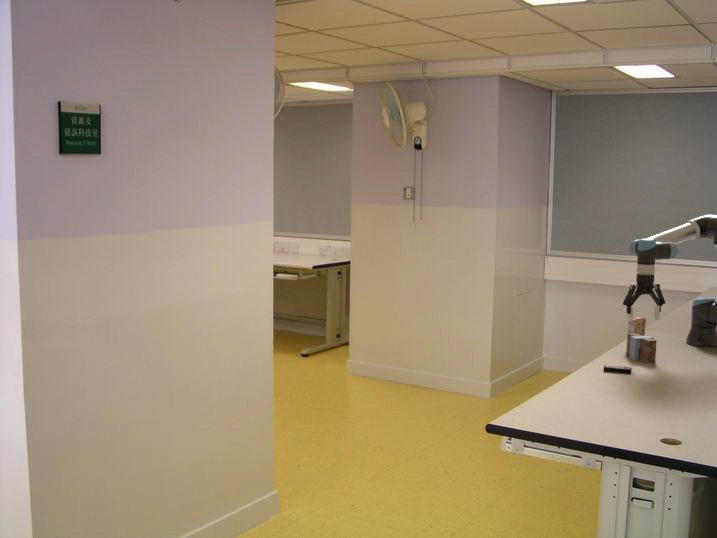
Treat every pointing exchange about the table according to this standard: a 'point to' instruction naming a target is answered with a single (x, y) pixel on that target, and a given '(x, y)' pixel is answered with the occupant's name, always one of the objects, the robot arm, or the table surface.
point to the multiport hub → (617, 369)
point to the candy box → (637, 326)
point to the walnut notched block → (644, 348)
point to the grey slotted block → (636, 346)
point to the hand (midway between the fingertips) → (643, 320)
